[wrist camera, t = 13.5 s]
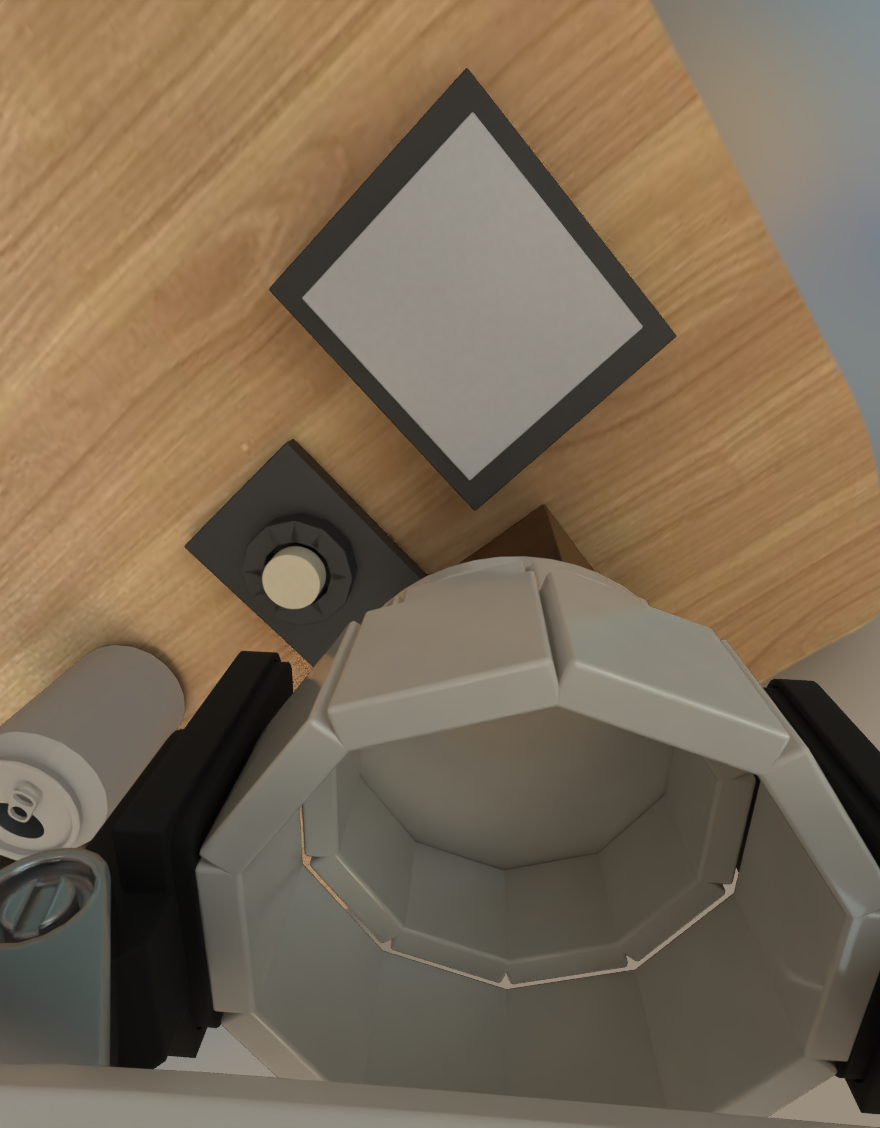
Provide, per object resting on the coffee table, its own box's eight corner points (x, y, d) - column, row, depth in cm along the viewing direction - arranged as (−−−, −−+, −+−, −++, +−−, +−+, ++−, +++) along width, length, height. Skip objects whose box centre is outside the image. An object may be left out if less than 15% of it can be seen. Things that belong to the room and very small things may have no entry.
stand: (544, 503, 38) (575, 600, 25) (639, 631, 40) (714, 782, 27) (408, 599, 40) (370, 733, 27) (505, 714, 43) (513, 889, 30)
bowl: (768, 525, 10) (987, 682, 6) (690, 902, 12) (798, 1208, 8) (295, 505, 10) (161, 640, 6) (314, 876, 13) (230, 1157, 8)
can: (63, 703, 45) (-79, 832, 33) (102, 617, 42) (-36, 726, 31) (164, 755, 46) (59, 898, 34) (208, 675, 43) (111, 800, 32)
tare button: (338, 574, 37) (332, 585, 36) (299, 609, 38) (292, 620, 37) (296, 534, 37) (289, 543, 35) (258, 570, 38) (249, 580, 36)
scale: (663, 335, 34) (680, 336, 31) (475, 498, 38) (474, 514, 35) (468, 87, 31) (466, 61, 28) (283, 291, 35) (264, 288, 32)
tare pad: (427, 574, 40) (422, 594, 37) (324, 662, 42) (312, 686, 39) (293, 438, 37) (277, 447, 35) (193, 539, 40) (171, 555, 37)
